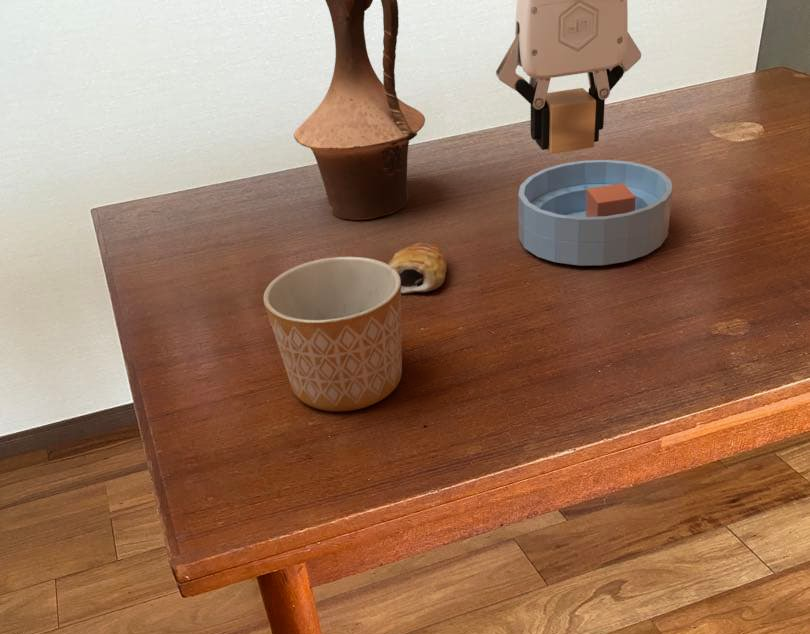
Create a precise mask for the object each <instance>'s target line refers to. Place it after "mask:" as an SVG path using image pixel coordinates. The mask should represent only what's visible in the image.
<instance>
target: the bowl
mask: <svg viewBox="0 0 810 634" xmlns="http://www.w3.org/2000/svg"><path fill="white" fill-rule="evenodd" d="M616 184H625V186H626V187H627V188H628V189H629V190H630V191H631V192H632V194H633V195H634V196H635V197H636V201H635V211H631V212H628V213H623V214H617V215H610V216H601V217H586V198H587V189H590V188H596V187H603V186H609V185H616ZM673 191H674V190H673V182H672V180H671V178H669V177H668V176H667V174H665V172H663V171H661V170H659V169H656V168H654V167H652V166H649V165H647V164H643V163H638V162H633V161H629V160H628V161H627V160H617V159H587V160H578V161H571V162H566V163H561V164H557V165H553V166H549V167H545V168H544V169H542V170H539V171H537V172H535V173H533V174H532V175H529V176H528V177H527V178H526V179H525V180H524V181H523V182H522V183H521V184H520V185H519V190H518V194H517V196H518V197H517V199H518V201H517V204H518V206H517V207H518V209H517V211H518V240H519V241H520V243H521V245H522V247H523V248H524V249H525V250H526V251H528V252H529V253H530V254H532V255H533V256H536V257H537V258H540V259H543V260H546V261H548V262H549V261H550V262H552V263H557V264H558V263H559V264H563V265H565V264H566V265H570V266H571V265H572V266H580V267H582V266H583V267H584V266H606V265H607V266H609V265H614V264H619V263H626V262H630V261H632V260H635V259H638V258H642V257H644V256H647V255H649V254H651V253H652V252H654V251H655V250H657V249H658V248H660V247H662V245H663V244H664V242H665V240H666V239H667V238H668V235H669V228H670V218H671V208H672V199H673Z"/></svg>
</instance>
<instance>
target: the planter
mask: <svg viewBox="0 0 810 634" xmlns="http://www.w3.org/2000/svg"><path fill="white" fill-rule="evenodd" d="M263 304H264V307H265V311H266V313H267V316H268V319H269V322H270V325H271V328H272V332H273V335H274V337H275V341H276V345H277V347H278V351H279V353H280V357H281V360H282V362H283V366H284V368H285V371H286V375H287V377H288V380H289V384H290V387H291V390H292V391H293V394H294V395H295V396H296V397H297V398H298V399H299V400H300V401H301V402H302V403H304V404H305V405H307V406H309V407H310V408H314V409H317V410H321V411H325V412H335V413H336V412H337V413H338V412H339V413H341V412H351V411H357V410H361V409H364V408H367V407H370V406H373V405H375V404H377V403H379V402H381V401H382V400H384V399H386V398H387V397H388V396H390V395H391V394H392V393H393V392H394V391H395V389H396V388H397V387H398V385H399V384H400V382H401V378H402V373H403V349H402V348H403V345H402V344H403V343H402V342H403V341H402V339H403V338H402V336H403V335H402V294H401V279H400V276H399V274H398V273H397V271H396V270H395V269H394V268H392V267H391V266H390V265H388V263H386V262H384V261H381V260H378V259H374V258H370V257H363V256H362V257H361V256H334V257H326V258H320V259H316V260H312V261H308V262H305V263H301V264H299V265H297V266H294V267H292V268H290V269H288V270H286V271H284V272H282V273H280V274H279V275H278V276H276V277H275V278H274V279H273V280H272V281H271V282H270V283H269V284H268V285H267V287H266V288H265V290H264V293H263Z"/></svg>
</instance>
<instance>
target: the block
mask: <svg viewBox="0 0 810 634" xmlns="http://www.w3.org/2000/svg"><path fill="white" fill-rule="evenodd" d="M588 92H589V91H587V90H586V89H584V87H578V88H572V89H571V88H570V89H565V90H558V91H552V92H551V91H550V92H547V96H546V106H547V107H548V108H549V112H550V116H549V148H548V149H547V150H548V152H549V153H550V154H559V153H565V152H572V151H579V150H585V149H591V148H594V147H595V142H594V135H595V114H596V100H595V99H594V98H593V97H592V96H591V95H590V94H589V93H588Z"/></svg>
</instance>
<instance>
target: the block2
mask: <svg viewBox="0 0 810 634" xmlns="http://www.w3.org/2000/svg"><path fill="white" fill-rule="evenodd" d="M635 201H636V197H635V196H634V195H633V194H632V192H631V191H630V190H629V189H628V188H627V187H626V186H625V184H616V185H609V186H603V187H596V188H590V189H587V198H586V217H601V216H610V215H617V214H623V213H628V212H631V211H635Z"/></svg>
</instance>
